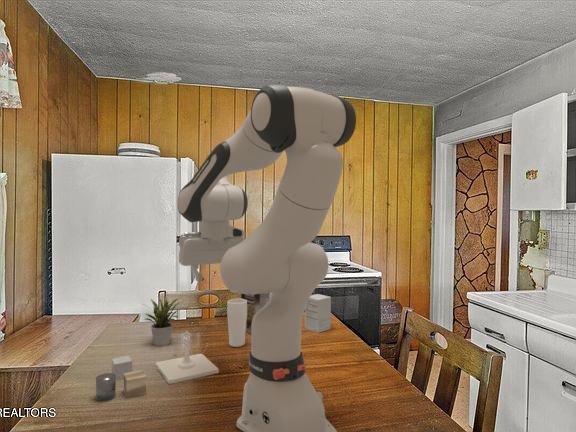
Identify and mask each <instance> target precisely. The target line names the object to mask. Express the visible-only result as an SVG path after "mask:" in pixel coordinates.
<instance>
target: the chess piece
mask: <svg viewBox="0 0 576 432" xmlns="http://www.w3.org/2000/svg"><path fill="white" fill-rule="evenodd" d="M190 334H191V333H190V332H188V330H185V332H183V336H184V337H183V338H182V340H183V342H184V343H183V345H182V348H184V353H183V357H184V359H183V360H182V361H180V362H179V363H178V368H180V369H189V368H193V367H194V366H195V361H193V360H191V359H190V358H189V356H190V352H189V348H190V347H191V344H190V340H191V336H190Z"/></svg>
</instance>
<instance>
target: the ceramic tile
mask: <svg viewBox="0 0 576 432" xmlns="http://www.w3.org/2000/svg"><path fill="white" fill-rule="evenodd" d="M189 358H190V359H191V360H193V361H195V366H194V367H193V368H189V369H180V368H178V363H179V362H180V361H182V360H183V359H184V356H183V357H176V358H172V359H167V360H162V361H157V362H155V367H156V369H157V370H158V371H159V373H160V374H161V376H162V378H164V380H165V381H166V383H167V384H168V385H173V384H176V383H179V382H184V381H189V380H193V379H197V378H198V379H199V378H202V377H206V376H207V377H208V376H211V375H215V374H219V372H220V370H219V368H218V367H217V366H216V365H215V364H214V363H213V362H212V361H211V360H210V359H209V358H208V357H206V356H205V355H204V354H203V353H196V354H192V355H189Z"/></svg>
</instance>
